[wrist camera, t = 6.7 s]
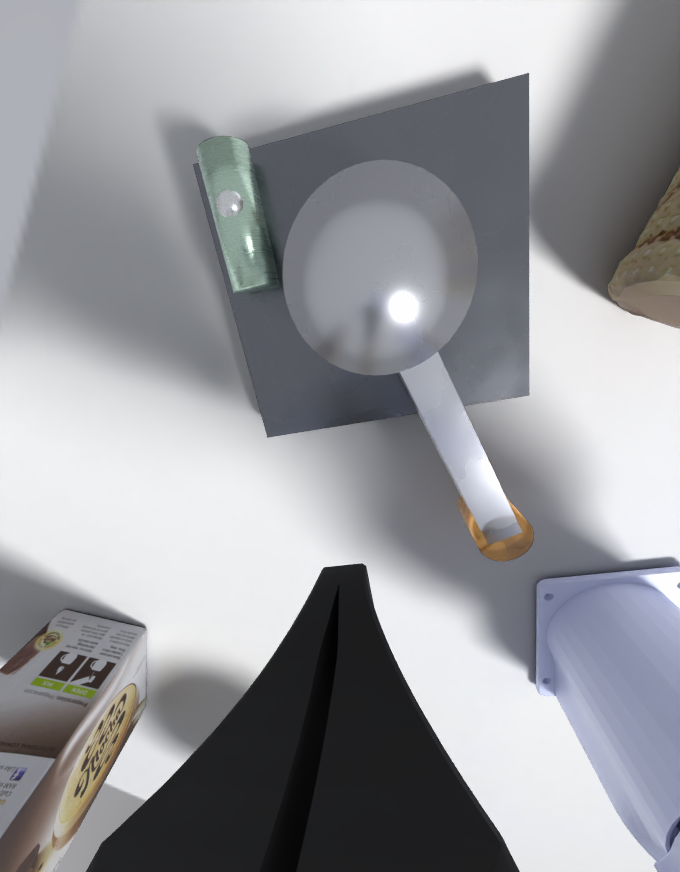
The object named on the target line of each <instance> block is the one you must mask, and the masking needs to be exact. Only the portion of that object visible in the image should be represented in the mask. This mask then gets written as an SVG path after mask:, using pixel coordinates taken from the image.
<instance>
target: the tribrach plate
mask: <svg viewBox="0 0 680 872" xmlns="http://www.w3.org/2000/svg"><path fill="white" fill-rule="evenodd" d="M196 154H197V158H198V162H199V163H197V164H193V166H194V170H195V174H196V177H197V181H198V185H199V188H200V192H201V196H202V199H203V203H204V207H205V210H206V214H207V218H208V221H209V225H210V229H211V232H212V236H213V240H214V243H215V247H216V250H217V254H218V258H219V261H220V265H221V269H222V272H223V276H224V280H225V283H226V287H227V291H228V294H229V298H230V302H231V305H232V309H233V313H234V316H235V320H236V324H237V327H238V331H239V335H240V338H241V342H242V346H243V349H244V353H245V357H246V360H247V364H248V368H249V371H250V375H251V379H252V382H253V386H254V390H255V393H256V397H257V401H258V404H259V408H260V412H261V415H262V419H263V423H264V426H265V430H266V434H267V437H273V436H279V435H286V434H292V433H298V432H304V431H311V430H317V429H323V428H329V427H335V426H342V425H348V424H354V423H360V422H367V421H373V420H379V419H385V418H391V417H398V416H404V415H410V414H416V413H418V412H417V410H416V408H415V406H414V404H413V402H412V400H411V398H410V396H409V394H408V392H407V390H406V388H405V386H404V384H403V382H402V380H401V379H400V377H399V375H398V373H393V374H388V375H363V374H358V373H353V372H350V371H347V370H344V369H341V368H339V367H337V366H335V365H333V364H331V363H330V362H328V361H327V360H325V359H324V358H322V357H321V356H320V355H319V354H318V353H317V352H315V351H314V350H313V349H312V348H311V347H310V346H309V344H308V343H307V342H306V341H305V340H304V338H303V337H302V335H301V334H300V332H299V331H298V329H297V328H296V326H295V324H294V322H293V320H292V318H291V315H290V312H289V309H288V306H287V303H286V298H285V294H284V287H283V258H284V251H285V247H286V243H287V238H288V235H289V233H290V230H291V227H292V225H293V222H294V221H295V219H296V217H297V215H298V213H299V211H300V209H301V208H302V207H303V205H304V204H305V202H306V201H307V199H308V198H309V197H310V196H311V195H312V194H313V193H314V192H315V190H316V189H317V188H318V187H319V186H321V185H322V184H323V183H324V182H325V181H327V180H328V179H329V178H330V177H332V176H334V175H335V174H337V173H338V172H340V171H342V170H344V169H346V168H349V167H351V166H353V165H356V164H360V163H364V162H367V161H375V160H397V161H401V162H406V163H410V164H413V165H416V166H418V167H421V168H423V169H425V170H427V171H428V172H430V173H432V174H433V175H435V176H436V177H438V178H439V179H440V180H441V181H442V182H444V183H445V184H446V185H447V186H448V187H449V188H450V189H451V190H452V192H453V193H454V194H455V195H456V196H457V198H458V199H459V201H460V202H461V204H462V205H463V207H464V209H465V211H466V213H467V215H468V217H469V219H470V222H471V225H472V228H473V231H474V234H475V240H476V245H477V255H478V270H477V280H476V285H475V291H474V294H473V298H472V301H471V304H470V306H469V309H468V311H467V313H466V315H465V318H464V319H463V321H462V323H461V324H460V326H459V328H458V329H457V331H456V332H455V333H454V335H453V336H452V337H451V339H450V340H449V341H448V342H447V343H446V344H445V345H444V346H443V347H442V348H441V349H440V350H439V351H438V353H439V355H440V358H441V360H442V362H443V364H444V366H445V368H446V370H447V372H448V375H449V377H450V379H451V381H452V383H453V385H454V387H455V389H456V392H457V394H458V396H459V398H460V400H461V402H462V404H463V406H466V405H472V404H479V403H485V402H491V401H497V400H503V399H510V398H516V397H522V396H528V395H529V73H527V74H523V75H520V76H516V77H512V78H509V79H505V80H501V81H498V82H494V83H490V84H487V85H483V86H479V87H476V88H472V89H468V90H465V91H461V92H457V93H454V94H450V95H446V96H443V97H439V98H435V99H432V100H428V101H424V102H421V103H417V104H413V105H410V106H406V107H402V108H399V109H395V110H391V111H388V112H384V113H380V114H377V115H373V116H369V117H366V118H362V119H358V120H355V121H351V122H347V123H344V124H340V125H336V126H333V127H329V128H325V129H322V130H318V131H314V132H310V133H307V134H303V135H299V136H296V137H292V138H288V139H285V140H281V141H277V142H274V143H270V144H266V145H263V146H259V147H255V148H252V149H249V146H248V145H247V143H246V142H244V141H243V140H241V139H239V138H235V137H230V136H219V137H213V138H210V139H207V140H205V141H203V142H202V143H201V144H200V145H199V146H198V147H197V149H196Z"/></svg>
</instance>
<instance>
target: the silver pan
mask: <svg viewBox="0 0 680 872" xmlns="http://www.w3.org/2000/svg"><path fill="white" fill-rule="evenodd" d="M477 270H478V255H477V245H476V240H475V234H474V231H473V228H472V225H471V222H470V219H469V217H468V215H467V213H466V211H465V209H464V207H463V205H462V204H461V202H460V201H459V199H458V198H457V196H456V195H455V194H454V193H453V192H452V190H451V189H450V188H449V187H448V186H447V185H446V184H445V183H444V182H442V181H441V180H440V179H439V178H438V177H436V176H435V175H433V174H432V173H430V172H428V171H427V170H425V169H423V168H421V167H418V166H416V165H413V164H410V163H406V162H401V161H397V160H375V161H367V162H364V163H360V164H356V165H353V166H351V167H349V168H346V169H344V170H342V171H340V172H338V173H337V174H335V175H334V176H332V177H330V178H329V179H328V180H327V181H325V182H324V183H323V184H322V185H321V186H319V187H318V188H317V189H316V190H315V192H314V193H313V194H312V195H311V196H310V197H309V198H308V199H307V201H306V202H305V204H304V205H303V207H302V208H301V209H300V211H299V213H298V215H297V217H296V219H295V221H294V222H293V225H292V227H291V230H290V233H289V235H288V238H287V243H286V247H285V251H284V258H283V287H284V294H285V298H286V303H287V306H288V309H289V312H290V315H291V318H292V320H293V322H294V324H295V326H296V328H297V329H298V331H299V332H300V334H301V335H302V337H303V338H304V340H305V341H306V342H307V343H308V344H309V346H310V347H311V348H312V349H313V350H314V351H315V352H317V353H318V354H319V355H320V356H321V357H322V358H324V359H325V360H327V361H328V362H330V363H331V364H333V365H335V366H337V367H339V368H341V369H344V370H347V371H350V372H353V373H358V374H363V375H388V374H393V373H398V375H399V377H400V379H401V380H402V382H403V384H404V386H405V388H406V390H407V392H408V394H409V396H410V398H411V400H412V402H413V404H414V406H415V408H416V410H417V412H418V414H419V415H420V417H421V419H422V421H423V423H424V425H425V427H426V429H427V431H428V433H429V435H430V437H431V439H432V441H433V443H434V445H435V447H436V449H437V450H438V452H439V454H440V456H441V458H442V460H443V462H444V464H445V466H446V468H447V470H448V472H449V474H450V476H451V478H452V480H453V482H454V484H455V485H456V487H457V489H458V491H459V493H460V497H459V499H458V509H459V511H460V513H461V515H462V517H463V519H464V521H465V523H466V525H467V527H468V529H469V531H470V533H471V534H472V536H473V538H474V540H475V542H476V544H477V546H478V548H479V550H480V551H481V553H482V554H483V555H485V556H486V557H487V558H489V559H492V560H496V561H509V560H513V559H516V558H518V557H520V556H522V555H523V554H525V553H526V552H527V551H528V550H529V548H530V547H531V545H532V543H533V540H534V532H533V529H532V527H531V525H530V524H529V523H528V521H527V520H526V519H525V518H524V517H523V515H522V514H521V513H520V512H519V511H518V510H517V508H516V507H515V506H514V505H513V504H512V502H511V501H510V500H509V499H508V498H507V496H506V495H505V494H504V492H503V490H502V488H501V485H500V483H499V481H498V479H497V477H496V475H495V473H494V470H493V468H492V466H491V464H490V462H489V460H488V458H487V456H486V453H485V451H484V449H483V447H482V445H481V443H480V441H479V439H478V436H477V434H476V432H475V430H474V428H473V426H472V424H471V421H470V419H469V417H468V415H467V413H466V411H465V409H464V407H463V404H462V402H461V400H460V398H459V396H458V394H457V392H456V389H455V387H454V385H453V383H452V381H451V379H450V377H449V375H448V372H447V370H446V368H445V366H444V364H443V362H442V360H441V358H440V355H439V353H438V351H439V350H440V349H441V348H442V347H443V346H444V345H445V344H446V343H447V342H448V341H449V340H450V339H451V337H452V336H453V335H454V333H455V332H456V331H457V329H458V328H459V326H460V324H461V323H462V321H463V319H464V318H465V315H466V313H467V311H468V309H469V306H470V304H471V301H472V298H473V294H474V291H475V285H476V280H477Z"/></svg>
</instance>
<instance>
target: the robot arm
mask: <svg viewBox="0 0 680 872" xmlns="http://www.w3.org/2000/svg"><path fill="white" fill-rule="evenodd" d="M546 594H548V595H546ZM536 688H537V691H538V693H539V694H540V695H542V696H556V697H557V699H558V701H559V703H560V705H561V707H562V709H563V710H564V712H565V714H566V716H567V718H568V720H569V722H570V724H571V726H572V728H573V730H574V731H575V733H576V735H577V737H578V739H579V741H580V743H581V745H582V747H583V749H584V751H585V753H586V754H587V756H588V758H589V760H590V762H591V764H592V766H593V768H594V770H595V772H596V774H597V775H598V777H599V779H600V781H601V783H602V785H603V787H604V789H605V791H606V793H607V795H608V797H609V798H610V800H611V802H612V804H613V806H614V808H615V810H616V812H617V813H618V815H619V816H620V818H621V820H622V821H623V823H624V824H625V826H626V827H627V829H628V830H629V831H630V833H631V834H632V835H633V836H634V838H635V839H636V840H637V841H638V843H639V844H640V845H641V846H642V847H643V848H644V849H645V850H646V851H647V852H648V853H649V854H650V855H651V856H652V857H653V858H654V859H655V860H656V861H657V862H655V864H654V866H655V868H656V870H657V872H680V566H675V567H664V568H654V569H644V570H633V571H623V572H612V573H602V574H592V575H581V576H571V577H561V578H550V579H543V580H541V581H539V583H538V584H537V610H536ZM86 872H520V871H519V869H518V867H517V866H516V864H515V862H514V860H513V858H512V856H511V854H510V852H509V850H508V848H507V846H506V844H505V841H504V839H503V837H502V836H501V834H500V833H499V831H498V830H497V828H496V827H495V825H494V824H493V822H492V821H491V820H490V818H489V817H488V815H487V814H486V812H485V811H484V809H483V808H482V806H481V805H480V803H479V802H478V800H477V799H476V797H475V796H474V794H473V793H472V791H471V790H470V788H469V787H468V785H467V784H466V782H465V781H464V779H463V778H462V776H461V774H460V773H459V771H458V770H457V768H456V767H455V765H454V763H453V762H452V760H451V759H450V757H449V756H448V754H447V752H446V751H445V749H444V747H443V746H442V744H441V742H440V741H439V739H438V737H437V736H436V734H435V732H434V730H433V729H432V727H431V725H430V724H429V722H428V720H427V719H426V717H425V715H424V713H423V712H422V710H421V708H420V707H419V705H418V703H417V701H416V699H415V697H414V695H413V694H412V692H411V690H410V688H409V686H408V684H407V682H406V680H405V678H404V676H403V674H402V672H401V670H400V668H399V666H398V664H397V662H396V660H395V658H394V656H393V653H392V651H391V649H390V647H389V644H388V642H387V640H386V637H385V635H384V633H383V630H382V628H381V625H380V623H379V620H378V617H377V614H376V611H375V609H374V604H373V599H372V594H371V589H370V584H369V578H368V573H367V568H366V566H365V565H364V564H352V565H343V566H333V567H324V569H323V570H322V571H321V573H320V575H319V577H318V579H317V581H316V583H315V585H314V587H313V589H312V591H311V593H310V595H309V597H308V599H307V600H306V602H305V604H304V606H303V608H302V609H301V611H300V613H299V615H298V616H297V618H296V620H295V621H294V623H293V625H292V627H291V628H290V630H289V631H288V633H287V635H286V636H285V638H284V639H283V641H282V642H281V644H280V645H279V647H278V648H277V650H276V652H275V653H274V655H273V656H272V658H271V659H270V660H269V662H268V663H267V665H266V666H265V668H264V669H263V670H262V672H261V673H260V674H259V676H258V677H257V678H256V680H255V681H254V682H253V684H252V685H251V686H250V688H249V689H248V690H247V692H246V693H245V694H244V695H243V697H242V698H241V699H240V700H239V702H238V703H237V704H236V705H235V706H234V708H233V709H232V710H231V711H230V713H229V714H228V715H227V716H226V718H225V719H224V720H223V721H222V722H221V723H220V725H219V726H218V727H217V728H216V729H215V730H214V731H213V733H212V734H211V735H210V736H209V737H208V738H207V739H206V740H205V741H204V742H203V743H202V745H201V746H200V747H199V748H198V749H197V750H196V751H195V752H194V753H193V754H192V755H191V756H190V757H189V758H188V760H187V761H186V762H185V763H184V764H183V765H182V766H181V767H180V768H179V769H178V770H177V771H176V772H175V773H174V774H173V775H172V777H171V778H170V779H169V780H168V781H167V782H166V783H165V784H164V785H163V786H162V787H161V788H160V789H159V790H158V791H156V792H155V793H154V794H153V795H152V796H151V797H150V798H149V799H148V800H147V801H146V802H145V803H144V804H143V805H142V806H141V807H140V808H139V809H138V810H137V811H136V812H134V813H133V814H132V815H131V816H130V817H129V818H128V819H127V820H126V821H125V822H124V823H123V824H122V825H121V826H120V827H119V828H118V829H117V830H116V831H115V832H113V833H112V834H111V835H110V836H109V837H108V838H107V839H106V840H105V841H103V842H102V844H101V845H100V847H99V849H98V851H97V853H96V854H95V856H94V858H93V860H92V862H91V864H90V865H89V867H88V869H87V871H86Z"/></svg>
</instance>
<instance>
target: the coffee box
mask: <svg viewBox="0 0 680 872" xmlns="http://www.w3.org/2000/svg"><path fill="white" fill-rule="evenodd" d="M146 651H147V629H145V628H142V627H138V626H134V625H129V624H125V623H121V622H117V621H113V620H108V619H104V618H100V617H96V616H91V615H87V614H83V613H78V612H74V611H70V610H62V611H61V612H59V613H58V614H57V615H56V616H55V617H54V618H53V619H52V620H51V621H50V622H49V623H48V624H47V625H46V626H45V627H44V628H43V629H42V630H41V631H40V632H39V633H37V634H36V635H35V636H34V637H33V638H32V639H31V640H30V641H29V642H28V643H27V644H26V645H25V646H24V647H23V648H22V649H21V650H20V651H19V652H18V653H17V654H16V655H15V656H13V657H12V658H11V659H10V660H9V661H8V662H7V663H6V664H5V665H4V666H3V667H2V668H1V669H0V872H55V870H56V868H57V867H58V865H59V863H60V861H61V859H62V857H63V856H64V853H65V852H66V850H67V848H68V847H69V845H70V843H71V841H72V839H73V838H74V836H75V834H76V832H77V830H78V828H79V827H80V825H81V823H82V821H83V819H84V818H85V816H86V814H87V812H88V810H89V809H90V807H91V805H92V803H93V801H94V799H95V798H96V796H97V794H98V792H99V790H100V789H101V787H102V785H103V783H104V781H105V780H106V778H107V776H108V774H109V772H110V771H111V769H112V767H113V765H114V763H115V761H116V759H117V758H118V756H119V754H120V752H121V751H122V749H123V747H124V745H125V743H126V742H127V740H128V738H129V736H130V734H131V733H132V731H133V729H134V727H135V725H136V724H137V722H138V720H139V718H140V717H141V715H142V713H143V711H144V709H145V707H146Z"/></svg>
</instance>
